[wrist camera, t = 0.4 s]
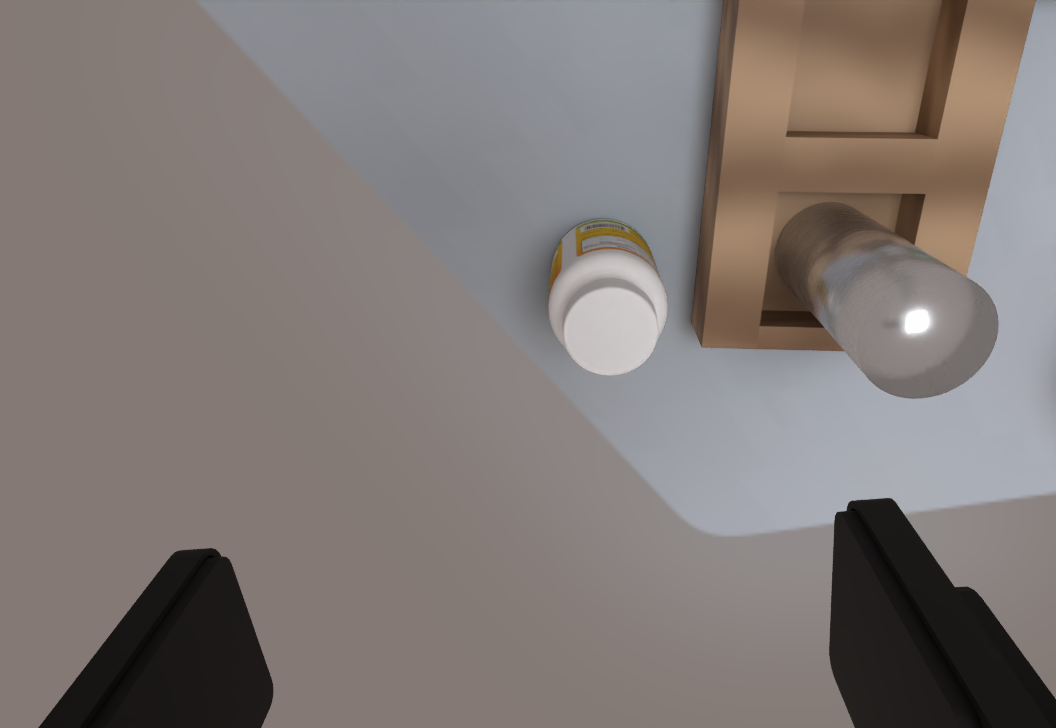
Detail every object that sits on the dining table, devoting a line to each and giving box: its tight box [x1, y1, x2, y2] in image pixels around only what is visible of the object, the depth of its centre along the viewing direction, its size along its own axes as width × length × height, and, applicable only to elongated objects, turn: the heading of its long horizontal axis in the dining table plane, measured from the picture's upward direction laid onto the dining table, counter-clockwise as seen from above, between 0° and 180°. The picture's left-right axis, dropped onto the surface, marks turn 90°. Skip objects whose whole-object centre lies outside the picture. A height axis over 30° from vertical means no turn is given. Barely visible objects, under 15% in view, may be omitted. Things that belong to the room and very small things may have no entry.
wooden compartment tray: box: [691, 0, 1036, 351], centre depth 35 cm, size 18×12×4 cm, turn 0°
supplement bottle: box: [548, 219, 668, 376], centre depth 35 cm, size 5×5×10 cm
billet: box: [775, 202, 998, 398], centre depth 32 cm, size 5×5×12 cm
